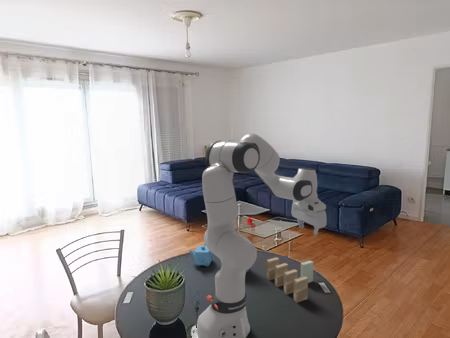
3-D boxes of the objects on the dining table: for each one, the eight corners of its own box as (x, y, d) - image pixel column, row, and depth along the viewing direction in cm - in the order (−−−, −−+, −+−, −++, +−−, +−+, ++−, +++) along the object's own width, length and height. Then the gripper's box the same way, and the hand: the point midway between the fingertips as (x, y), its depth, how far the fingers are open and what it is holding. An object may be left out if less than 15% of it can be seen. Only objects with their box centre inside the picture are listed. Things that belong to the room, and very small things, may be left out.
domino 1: (279, 277, 153) (279, 258, 152) (269, 280, 151) (268, 261, 149) (276, 275, 155) (276, 257, 153) (266, 278, 152) (266, 259, 151)
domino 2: (287, 283, 147) (287, 264, 145) (277, 287, 144) (277, 267, 143) (285, 281, 149) (285, 262, 147) (274, 285, 146) (274, 265, 145)
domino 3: (297, 291, 141) (297, 270, 139) (286, 294, 138) (286, 274, 137) (294, 289, 143) (294, 269, 141) (283, 292, 140) (283, 272, 138)
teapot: (212, 271, 161) (211, 253, 159) (186, 270, 163) (185, 253, 161) (217, 256, 179) (216, 239, 177) (193, 255, 180) (192, 239, 179)
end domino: (313, 281, 149) (313, 262, 147) (303, 284, 146) (303, 265, 144) (310, 279, 150) (310, 260, 149) (300, 282, 148) (300, 263, 146)
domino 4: (307, 298, 135) (307, 277, 133) (296, 302, 132) (296, 281, 130) (304, 296, 136) (304, 275, 135) (293, 300, 134) (293, 279, 132)
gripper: (287, 198, 148) (288, 225, 150) (317, 209, 130) (318, 240, 132) (298, 196, 150) (299, 223, 153) (328, 206, 132) (329, 236, 135)
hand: (308, 231), depth 142 cm, fingers open, 8 cm apart
